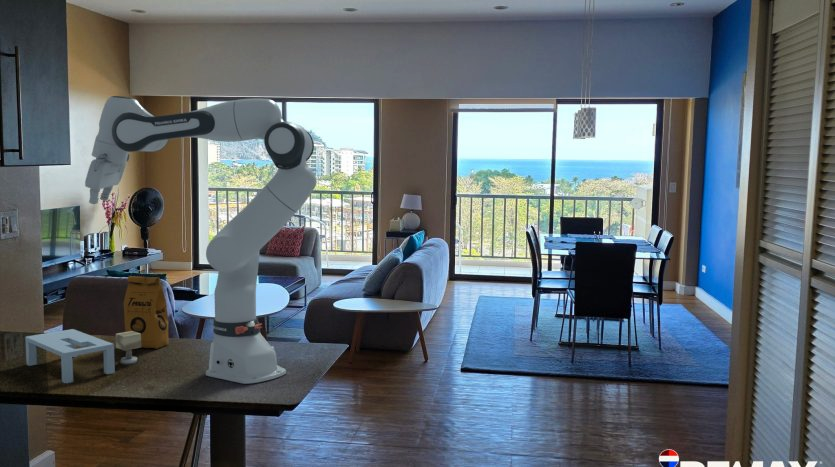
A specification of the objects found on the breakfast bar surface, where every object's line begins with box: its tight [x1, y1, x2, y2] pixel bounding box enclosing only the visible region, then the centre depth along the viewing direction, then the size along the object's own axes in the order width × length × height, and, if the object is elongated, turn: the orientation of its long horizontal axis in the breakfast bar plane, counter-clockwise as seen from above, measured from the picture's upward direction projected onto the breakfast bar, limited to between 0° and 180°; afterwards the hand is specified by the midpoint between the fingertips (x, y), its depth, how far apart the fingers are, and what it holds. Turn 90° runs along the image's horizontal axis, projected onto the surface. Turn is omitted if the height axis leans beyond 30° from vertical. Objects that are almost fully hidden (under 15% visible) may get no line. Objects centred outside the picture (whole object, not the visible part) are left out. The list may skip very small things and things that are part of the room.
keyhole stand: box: [25, 328, 116, 384], centre depth 194 cm, size 26×13×8 cm, turn 49°
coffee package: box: [123, 275, 169, 350], centre depth 218 cm, size 10×12×22 cm
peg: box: [115, 331, 142, 365], centre depth 200 cm, size 5×5×8 cm
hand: (98, 201), depth 193 cm, fingers open, 8 cm apart
